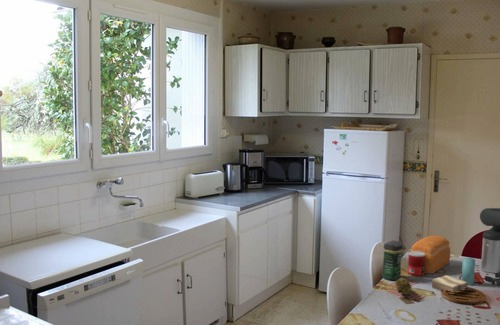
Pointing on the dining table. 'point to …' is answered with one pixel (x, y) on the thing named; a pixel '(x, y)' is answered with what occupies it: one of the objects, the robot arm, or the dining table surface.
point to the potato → (403, 286)
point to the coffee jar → (392, 260)
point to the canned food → (416, 263)
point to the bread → (433, 252)
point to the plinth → (448, 284)
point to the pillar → (468, 270)
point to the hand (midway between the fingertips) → (490, 276)
